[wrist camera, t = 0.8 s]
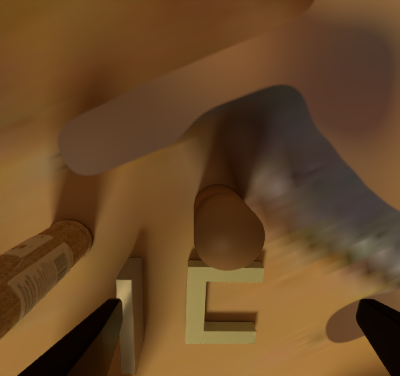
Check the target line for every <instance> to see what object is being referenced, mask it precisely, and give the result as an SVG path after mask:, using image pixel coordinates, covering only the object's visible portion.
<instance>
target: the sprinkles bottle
mask: <svg viewBox="0 0 400 376" xmlns="http://www.w3.org/2000/svg"><path fill="white" fill-rule="evenodd" d="M91 246H92V238H91V234H90V232H89V231H88V229H87V228H86V227H85V226H84V225H82V224H81V223H79V222H76V221H73V220H62V221H59V222H56V223H54V224H53V225H51V226H50V228H48V229H46V230H45V231H43V232H41V233H39V234H38V235H36V236H34V237H31V238H29V239H27V240H26V241H24V242H22V243H20V244H19V245H17V246H15V247H14V248H12V249H10V250H8V251H7V252H5V253H3V254H2V255H0V339H1V338H2V337H4V335H5V334H6V333H7V332H8V331H9V330H11V329H12V328H13V327H14V326H16V325H17V324H18V323H19V322H20V321H21V320H22V319H23V318H24V317H25V316H26V315H27V314H28V313H29V312H30V311H31V310H32V309H33V308H34V307H35V306H36V305H37V304H38V303H39V302H40V301H41V300H42V299H43V298H44V297H45V296H46V294H47V293H48V292H49V291H50V290H51V289H52V288H53V287H54V286H55V285H56V284H57V283H58V282H59V281H60V280H61V279H62V278H63V277H64V276H65V275H66V274H67V273H68V272H69V271H70V269H71V268H72V267H73V266H74V265H75V264H76V263H77V262H78V261H79V260H80V259H81V258H83V257H84V256H86V255H87V254H88V252H89V251H90V249H91Z"/></svg>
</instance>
